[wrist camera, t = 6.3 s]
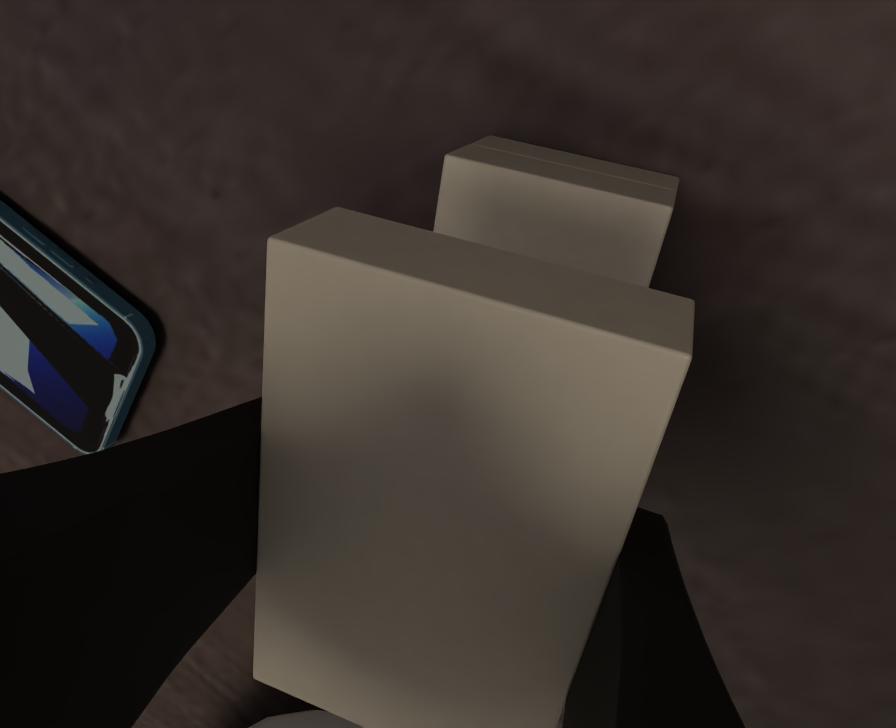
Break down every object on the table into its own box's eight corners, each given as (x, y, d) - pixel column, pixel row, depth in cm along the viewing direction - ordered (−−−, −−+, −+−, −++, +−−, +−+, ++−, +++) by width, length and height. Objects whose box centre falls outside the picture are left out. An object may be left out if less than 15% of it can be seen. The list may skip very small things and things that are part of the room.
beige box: (551, 706, 12) (528, 801, 11) (304, 605, 13) (251, 678, 12) (696, 299, 9) (693, 355, 7) (336, 205, 10) (266, 237, 8)
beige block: (597, 441, 21) (577, 510, 18) (443, 392, 22) (400, 450, 19) (680, 176, 17) (674, 207, 14) (489, 134, 18) (443, 154, 15)
